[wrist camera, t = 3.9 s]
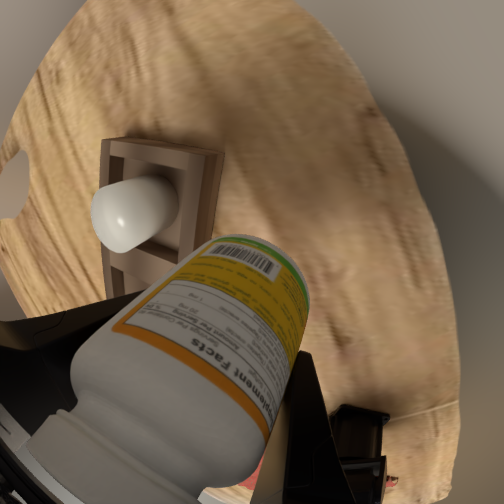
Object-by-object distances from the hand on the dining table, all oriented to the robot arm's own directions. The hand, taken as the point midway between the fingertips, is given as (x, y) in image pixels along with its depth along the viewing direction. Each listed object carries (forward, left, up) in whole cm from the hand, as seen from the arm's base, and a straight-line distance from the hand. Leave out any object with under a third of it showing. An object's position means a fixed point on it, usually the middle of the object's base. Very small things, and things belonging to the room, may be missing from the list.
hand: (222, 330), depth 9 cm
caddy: (+11, +6, -12) cm, 17 cm away
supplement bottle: (0, 0, -3) cm, 3 cm away
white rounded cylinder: (+11, +1, -11) cm, 15 cm away
